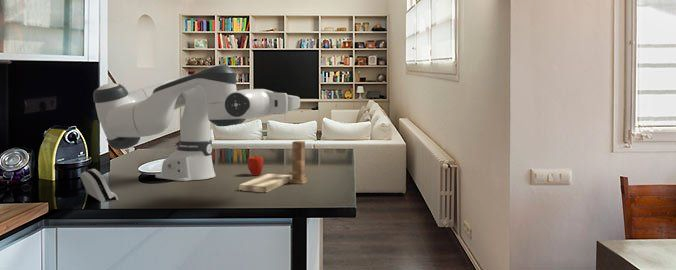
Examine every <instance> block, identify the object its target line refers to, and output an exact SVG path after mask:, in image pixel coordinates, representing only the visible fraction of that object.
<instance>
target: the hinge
mask: <svg viewBox="0 0 676 270" xmlns="http://www.w3.org/2000/svg"><path fill="white" fill-rule="evenodd" d="M79 177H80V180H81V182H82V184H83V186H84V188H85V191H86V193H87V194H88V195H90V196H91V197H93V198H94V199H96V200H98V201H99V202H101V203H104V202H106V200H107V199H110V200H111V199H112V198H114V200H116V201H118V200H119V198H118V195H117V194H116V193H115V192H112V191H111V190H110V187H109V185H108V183H107V180H106V179H105V176H103V175H102V173H101V172H100V171H98V170H97V169H96V168H91V169H88V170H87V171H83V172H81V173H80V174H79Z"/></svg>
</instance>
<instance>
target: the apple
mask: <svg viewBox="0 0 676 270" xmlns="http://www.w3.org/2000/svg"><path fill="white" fill-rule="evenodd" d="M247 168H248V170H249V172H250V174H251V176H252V175H253V176H260V175H262V172H263V168H264V158H263V157H262V156H256V155H254V156H253V155H252V156H249V157H248V158H247Z"/></svg>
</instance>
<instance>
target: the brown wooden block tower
mask: <svg viewBox="0 0 676 270" xmlns="http://www.w3.org/2000/svg"><path fill="white" fill-rule="evenodd" d="M305 143H306V141H305V140H304V141H302V140H295V141H292V145H291V148H292V149H291V150H292V151H291V152H292V153H291V155H292V156H291V157H292V159H291V160H292V165H291V167H292V169H291V170H292V172H290V171H287V174H286V175H292V178H291V179H290V182H289V184H295V185H297V184H298V185H303V184H305V183H307V182H308V177H306V176H305V174H306V173H305V172H306V169H305V168H306V167H305V166H306V158H305V157H306V148H305V147H306V145H305Z"/></svg>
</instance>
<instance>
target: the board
mask: <svg viewBox="0 0 676 270" xmlns="http://www.w3.org/2000/svg"><path fill="white" fill-rule="evenodd" d="M291 178H292V174H280V173H279V174H278V173H277V174H276V173H266V174H263V175H261V176H260V175H259V176H257V177H256V178H253V179H251V180H247V181H245V182H243V183H240V184H239V185H238V186H239V189H238V191H240V190H242V191H243V192H254V193H265V192H266V193H268V192H270V191H273V190H275V189H277V188H279V187H281V186H284V185H285V184H288V183H290V179H291Z"/></svg>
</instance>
